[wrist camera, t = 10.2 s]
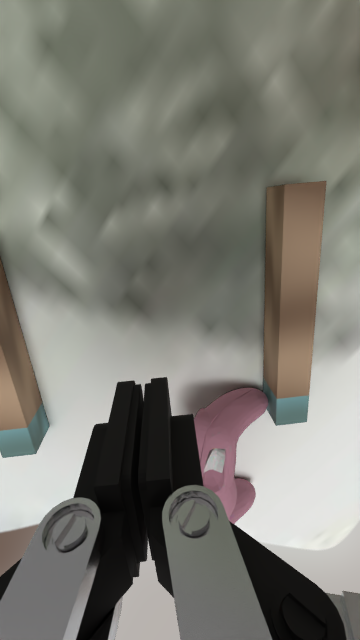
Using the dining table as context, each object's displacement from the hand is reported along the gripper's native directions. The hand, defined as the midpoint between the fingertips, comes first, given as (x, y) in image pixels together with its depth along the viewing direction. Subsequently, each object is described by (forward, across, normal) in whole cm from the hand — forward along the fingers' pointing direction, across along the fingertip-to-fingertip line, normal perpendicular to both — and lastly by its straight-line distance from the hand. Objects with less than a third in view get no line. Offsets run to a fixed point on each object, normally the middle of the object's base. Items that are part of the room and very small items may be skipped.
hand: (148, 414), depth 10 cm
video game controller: (+9, -4, +10) cm, 14 cm away
